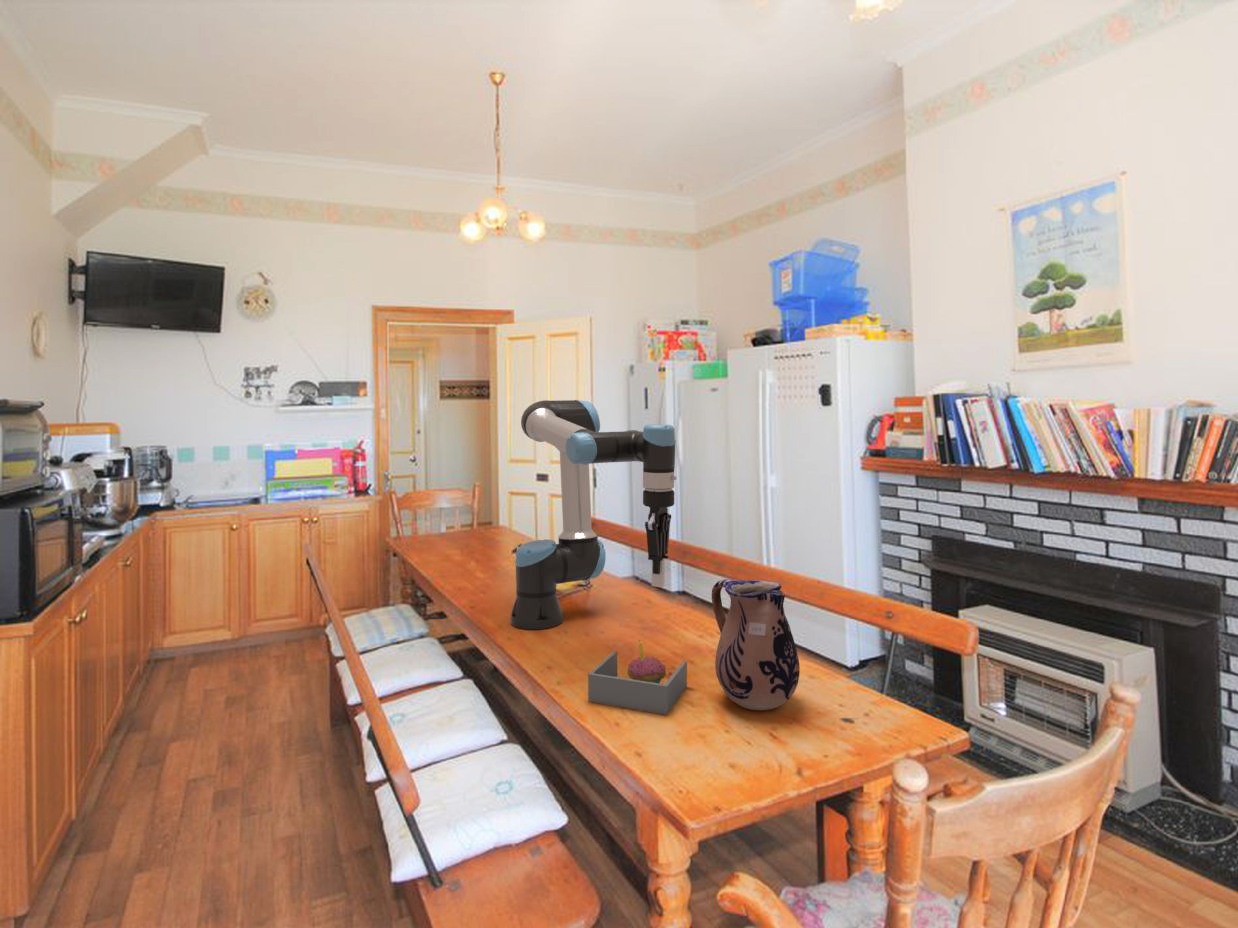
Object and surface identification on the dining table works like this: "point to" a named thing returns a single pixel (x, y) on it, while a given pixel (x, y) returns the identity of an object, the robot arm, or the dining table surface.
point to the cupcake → (646, 668)
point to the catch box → (634, 688)
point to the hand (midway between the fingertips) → (658, 585)
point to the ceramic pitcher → (755, 645)
